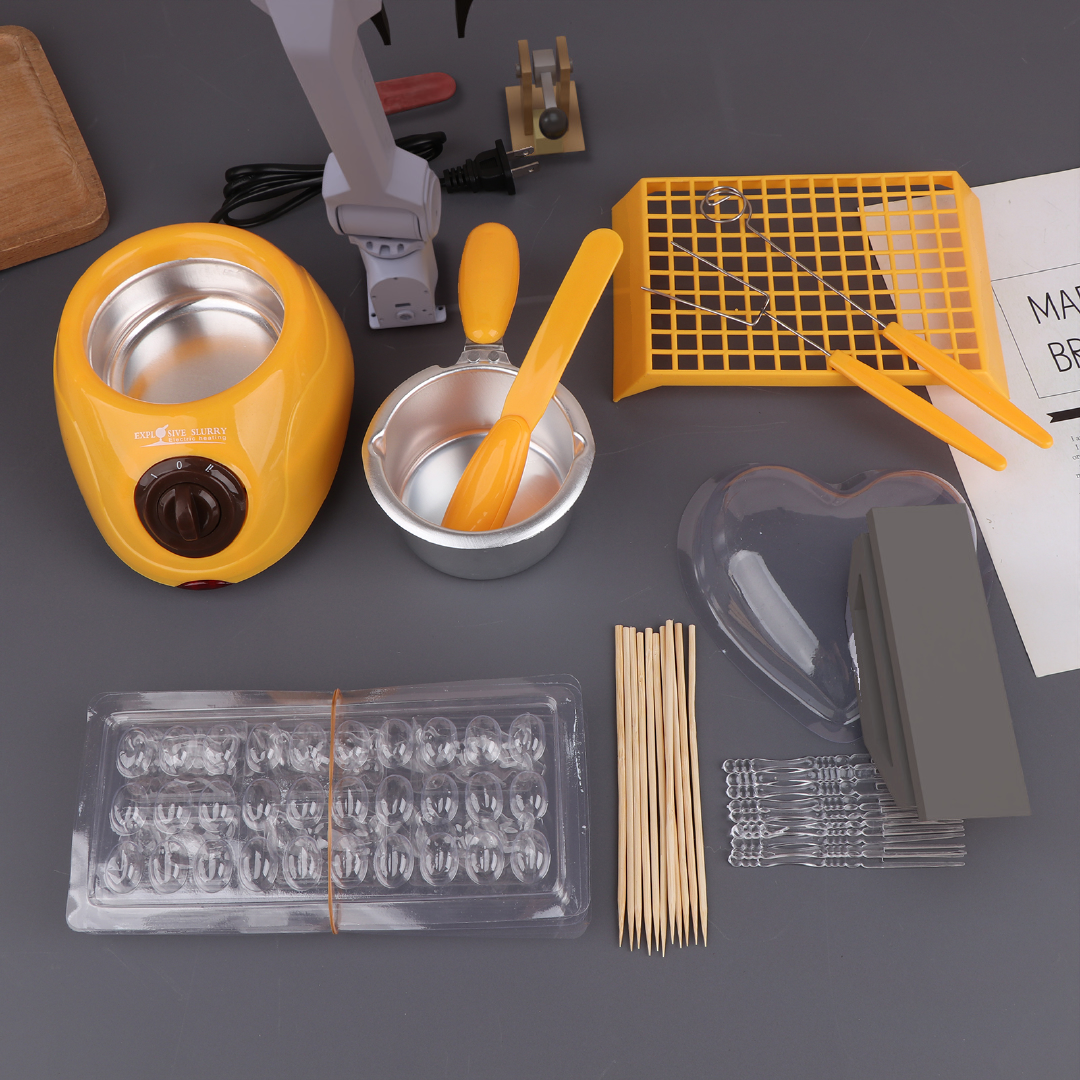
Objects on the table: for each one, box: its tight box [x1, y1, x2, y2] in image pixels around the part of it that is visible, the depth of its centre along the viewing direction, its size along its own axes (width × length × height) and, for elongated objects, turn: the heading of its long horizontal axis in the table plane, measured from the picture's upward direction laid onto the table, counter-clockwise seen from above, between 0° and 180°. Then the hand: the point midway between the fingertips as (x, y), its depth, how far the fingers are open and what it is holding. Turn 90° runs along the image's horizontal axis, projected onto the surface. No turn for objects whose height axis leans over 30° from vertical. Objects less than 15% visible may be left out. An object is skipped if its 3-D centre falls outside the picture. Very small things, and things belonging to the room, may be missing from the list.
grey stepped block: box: [846, 502, 1033, 822], centre depth 76 cm, size 25×8×11 cm, turn 3°
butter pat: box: [533, 107, 563, 156], centre depth 98 cm, size 4×3×2 cm
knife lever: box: [531, 48, 569, 140], centre depth 92 cm, size 12×3×3 cm, turn 6°
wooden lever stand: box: [504, 35, 586, 157], centre depth 97 cm, size 10×8×10 cm
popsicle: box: [374, 71, 457, 116], centre depth 102 cm, size 4×2×15 cm
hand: (423, 34), depth 93 cm, fingers open, 7 cm apart
